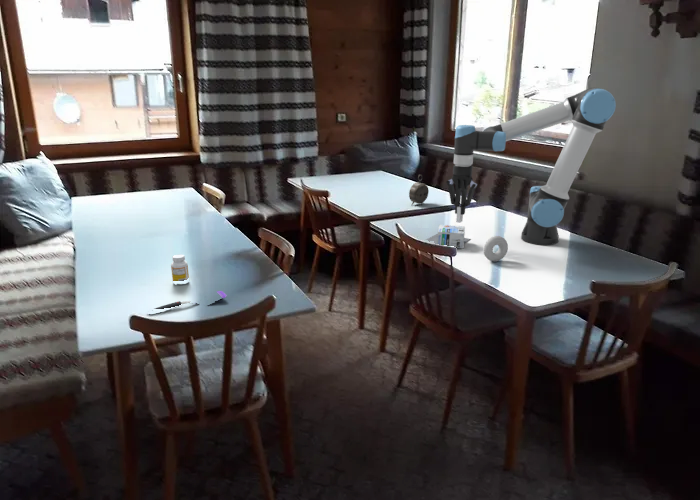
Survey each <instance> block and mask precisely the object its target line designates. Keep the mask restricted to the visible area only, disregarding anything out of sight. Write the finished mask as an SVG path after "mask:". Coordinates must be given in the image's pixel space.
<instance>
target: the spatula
mask: <svg viewBox="0 0 700 500" xmlns="http://www.w3.org/2000/svg"><path fill="white" fill-rule="evenodd" d="M216 292H217V293H218V294H219V295H220V296H221V297H222V298H224V299H225V298H226V297H227V293H225V291H223V290H218V291H216ZM191 301H192V300H185V301H179V300H178V301H175V302H172V303H168V304H164V305H161V306H158V307H155V308H154V309H164V308H171V307H175V306H178V307H180V306H179V305H181V304H182V305H184V304H185V305H186V304H191V303H190V302H191ZM182 305H181V306H182ZM175 308H176V307H175Z"/></svg>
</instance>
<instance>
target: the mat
mask: <svg viewBox="0 0 700 500" xmlns="http://www.w3.org/2000/svg"><path fill="white" fill-rule="evenodd" d="M437 239H438V233H436V234H434V235H432V236H430V237H428V238H426V239H425V240H428V241H429V242H430V241H434V243H435V244H437ZM469 241H471V239H470V238H468V237H464V244H465V243H467V242H469Z"/></svg>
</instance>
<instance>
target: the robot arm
mask: <svg viewBox="0 0 700 500" xmlns="http://www.w3.org/2000/svg"><path fill="white" fill-rule="evenodd" d="M616 105H617V102H616V99H615V97H614V96H613V93H611V92H610V91H609V90H606V89H605V88H599V87H589V88H586V89H585V90H583V91H581V92H578V93H576V94H573V95H571V96H568V97H566V98H565V99H564V101H563V102H560V103H556V104H553V105H551V106H548V107H545V108H542V109H540V110H537V111H533V112H531V113H528V114H525V115H522V116H519V117H517V118H513V119H511V120H508V121H506V122H505V121H504V122H502V123H500V124H496V125H494V126H488V127H486V128H484V130H476V126H475V125H470V124H468V125H467V124H460V125H458V126H456V128H455V136H454V150H453V151H454V153H453V164H454V165H453V167H452V176H451V178H450V179H448V180H446V182H445V183H446V184H447V187H448V192H449V200H450V204H451V205H453V206H454V213H455V215H456V218H455V221H456V222H455V223H462V222H463V219H464V218H463V216H464V215H465V214H466V207H469V206H470V205H471V202H472V200H473V197H474V194H475V193H474V192H475V190H476V188H477V187H478V183H477V182H475V181H474V180H473V177H472V175H473V164H474V163H473V162H474V151H484V152H503V151H505V150H506V143H507V142H508V141H511V140H515V139H518V138H522V137H524V136H527V135H529V134H533V133H535V132H538V131H541V130H544V129H547V128H550V127H553V126H556V125H559V124H563V123H566V122H568V121H569V122H570V121H571V122H572V127H571V130H570V132H569V134H568V136H567V138H566V140H565V143H564V145H563V147H562V149H561V152H560V154H559V156H558V158H557V160H556V162H555V165H554V167H553V169H552V171H551V173H550V175H549V177H548V180H547V182H546V184H544V185H533V186H532V187H531V186H530V187H531V188H530V190H529V200H528V209H527V219H526V222H525V225H524V227H523V228H522V231H521V236H520V239H521V240H522V241H524V242H525V243H528V244H533V245H541V246H542V245H543V246H544V245H545V246H548V245H549V246H550V245H556V244H558V243H559V239H560V238H559V237H560V235H559V232H558V231H559V230H558V226H557V225H558V224H560V223H561V221H562V220H563V219H564V214H565V208H566V206H567V204H568V202H569V200H570V196H569V193H568V192H569V191H570V188H571V186H572V184H573V182H574V180H575V179H576V176H577V174H578V172H579V169H580V168H581V166H582V164H583V161H584V159H585V157H586V155H587V154H588V151H589V149H590V147H591V145H592V143H593V140H594V139H595V136H596V134H598V133H600V132H603V130H604V128H605V126H606V124H607V121H609V120H610V119H611V118H612V116H613V115H614V114H615V111H616ZM454 186H455V187H454ZM469 186H470V188H469V190H468V187H469Z"/></svg>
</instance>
